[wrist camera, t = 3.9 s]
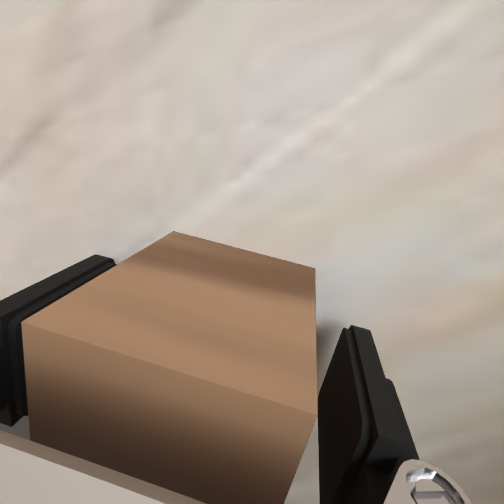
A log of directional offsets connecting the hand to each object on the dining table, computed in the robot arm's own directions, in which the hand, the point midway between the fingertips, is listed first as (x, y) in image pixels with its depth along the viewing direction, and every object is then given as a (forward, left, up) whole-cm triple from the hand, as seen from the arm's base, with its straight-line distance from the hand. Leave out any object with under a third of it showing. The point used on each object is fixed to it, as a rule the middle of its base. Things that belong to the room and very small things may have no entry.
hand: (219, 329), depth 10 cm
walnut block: (0, 0, -1) cm, 1 cm away
